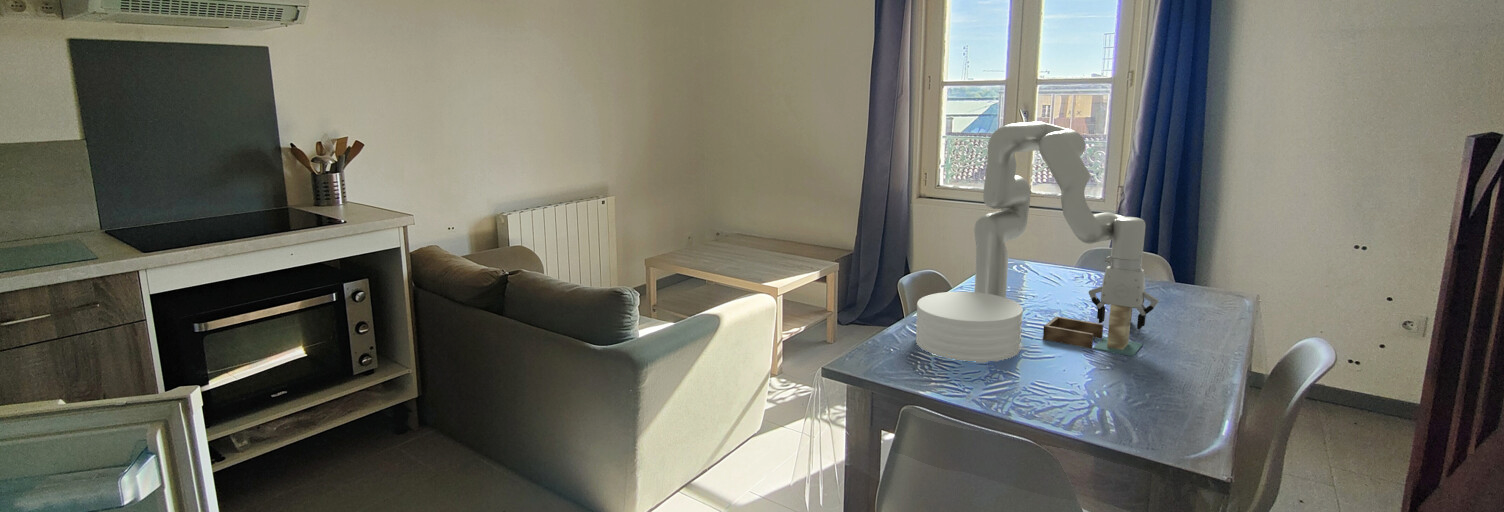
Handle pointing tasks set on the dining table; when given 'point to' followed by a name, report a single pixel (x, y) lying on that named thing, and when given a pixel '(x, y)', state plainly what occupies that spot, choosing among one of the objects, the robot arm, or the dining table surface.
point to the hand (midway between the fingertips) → (1120, 324)
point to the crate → (1072, 331)
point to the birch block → (1119, 327)
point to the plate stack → (969, 326)
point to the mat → (1128, 350)
